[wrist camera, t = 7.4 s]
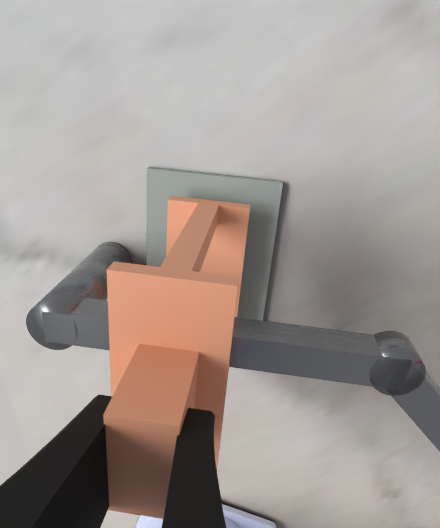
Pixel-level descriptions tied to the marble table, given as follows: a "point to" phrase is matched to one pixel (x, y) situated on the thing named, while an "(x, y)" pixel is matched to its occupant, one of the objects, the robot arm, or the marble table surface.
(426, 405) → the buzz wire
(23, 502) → the robot arm
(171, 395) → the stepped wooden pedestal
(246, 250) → the pad
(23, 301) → the marble table surface
